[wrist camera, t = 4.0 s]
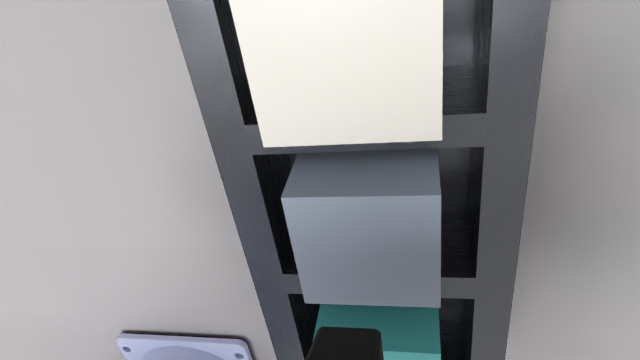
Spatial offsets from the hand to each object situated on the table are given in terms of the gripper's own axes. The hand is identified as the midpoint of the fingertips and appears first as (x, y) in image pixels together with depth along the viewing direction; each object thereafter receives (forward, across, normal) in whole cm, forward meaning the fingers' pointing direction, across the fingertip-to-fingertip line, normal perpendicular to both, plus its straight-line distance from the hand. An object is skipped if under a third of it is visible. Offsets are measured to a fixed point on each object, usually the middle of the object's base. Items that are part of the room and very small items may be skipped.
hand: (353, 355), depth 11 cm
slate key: (+6, 0, 0) cm, 6 cm away
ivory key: (+6, 0, -6) cm, 8 cm away
